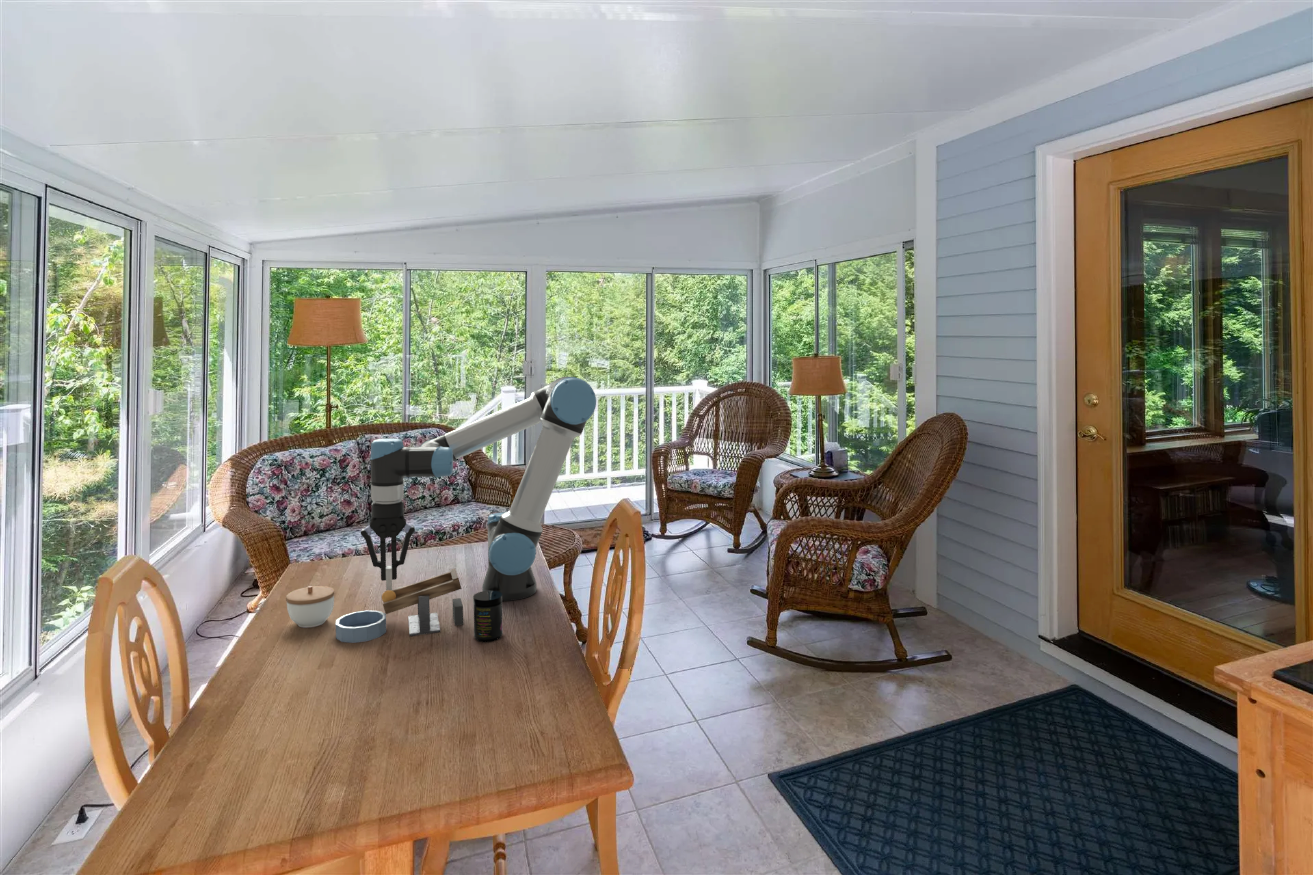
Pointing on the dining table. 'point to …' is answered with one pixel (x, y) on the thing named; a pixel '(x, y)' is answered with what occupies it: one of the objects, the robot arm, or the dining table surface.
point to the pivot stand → (423, 619)
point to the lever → (423, 590)
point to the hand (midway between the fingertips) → (389, 592)
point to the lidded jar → (310, 605)
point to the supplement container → (488, 616)
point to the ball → (388, 596)
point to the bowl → (360, 626)
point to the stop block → (458, 611)
